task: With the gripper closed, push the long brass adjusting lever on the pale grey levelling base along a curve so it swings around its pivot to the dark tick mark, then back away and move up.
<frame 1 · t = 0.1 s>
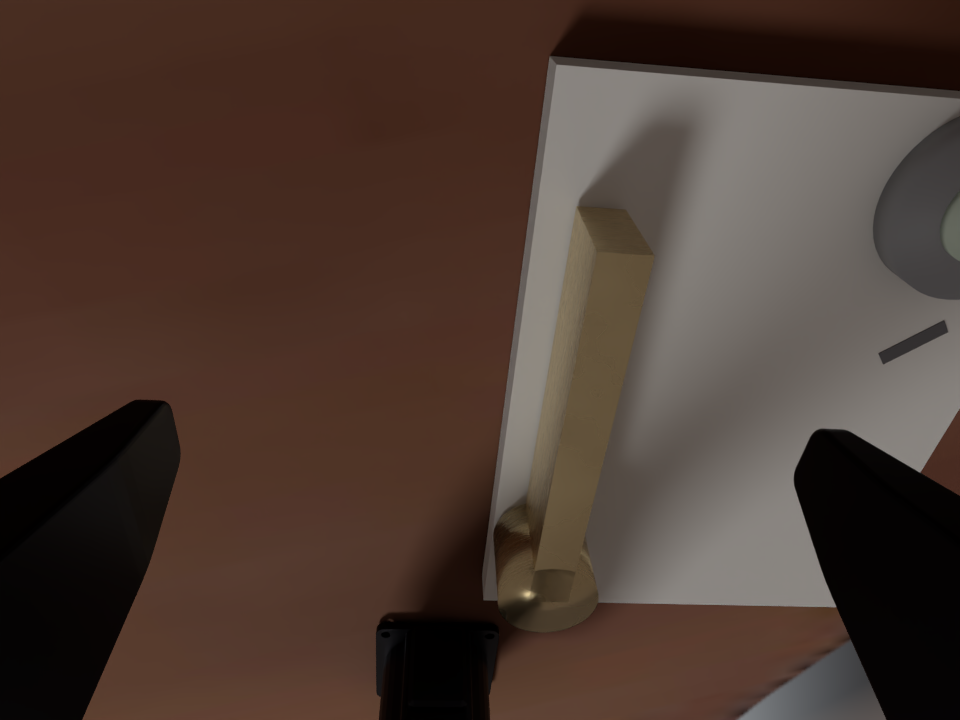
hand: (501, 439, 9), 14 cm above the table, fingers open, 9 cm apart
levelling base: (723, 390, 27), on the table
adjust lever: (567, 448, 24), point 3 cm above the table, hinge at 0.0°
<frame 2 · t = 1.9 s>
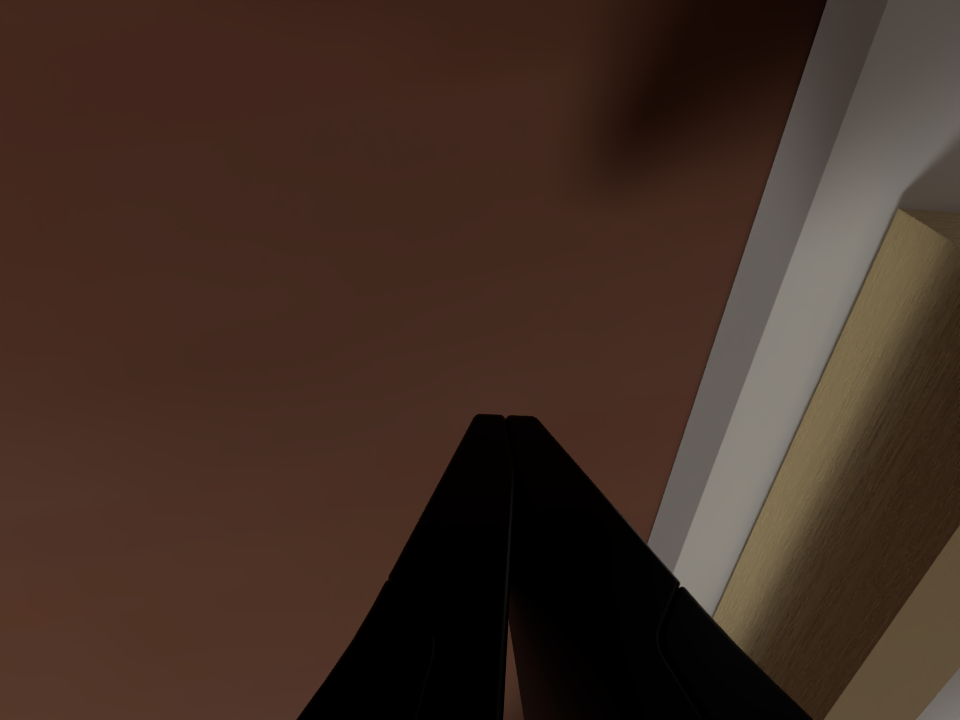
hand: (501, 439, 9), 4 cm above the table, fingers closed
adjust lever: (799, 658, 13), point 3 cm above the table, hinge at 0.0°
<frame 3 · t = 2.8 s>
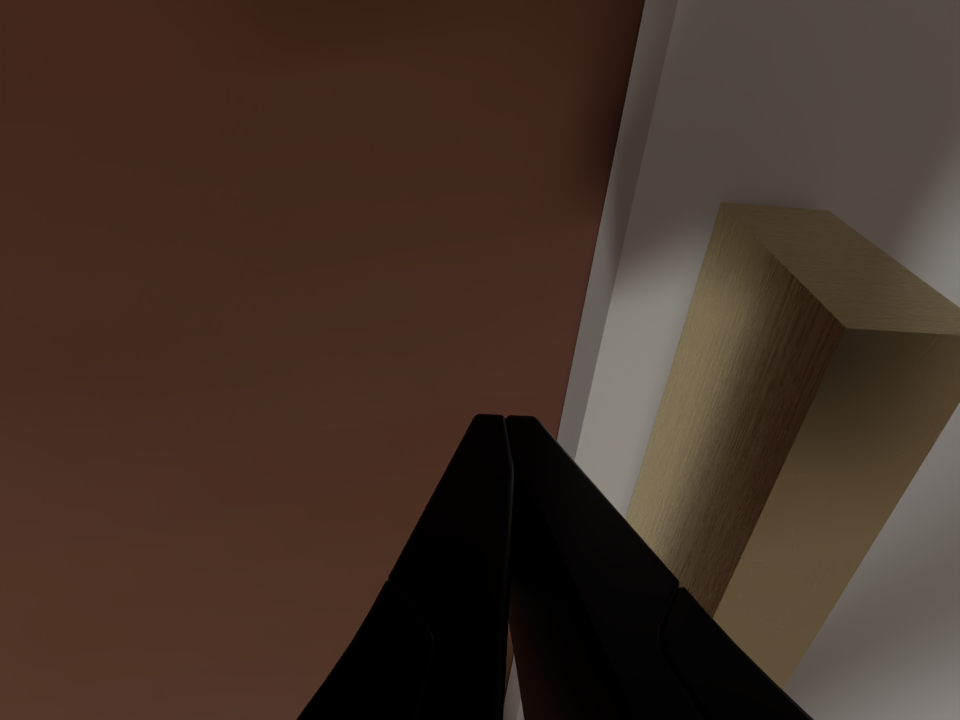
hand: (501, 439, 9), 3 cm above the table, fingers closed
levelling base: (912, 522, 16), on the table
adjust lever: (663, 665, 12), point 3 cm above the table, hinge at 0.0°
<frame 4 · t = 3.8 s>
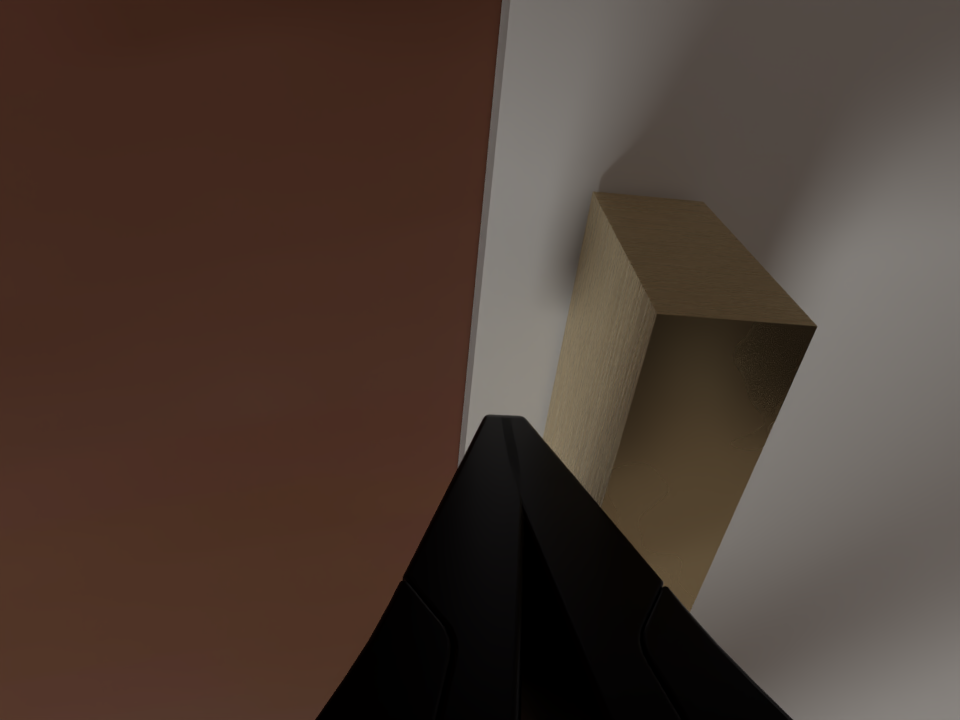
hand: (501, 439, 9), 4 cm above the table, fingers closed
levelling base: (832, 521, 15), on the table
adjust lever: (561, 663, 12), point 3 cm above the table, hinge at -0.8°, touching gripper
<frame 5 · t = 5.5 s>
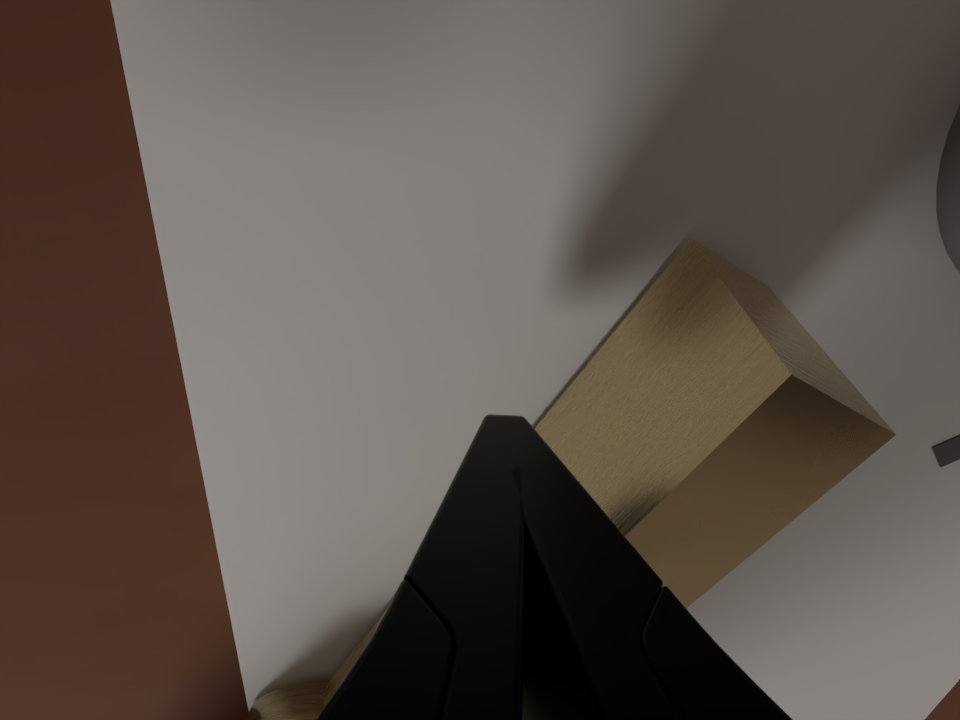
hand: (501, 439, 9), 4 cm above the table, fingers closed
levelling base: (639, 494, 15), on the table
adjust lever: (450, 660, 12), point 3 cm above the table, hinge at -25.7°, touching gripper
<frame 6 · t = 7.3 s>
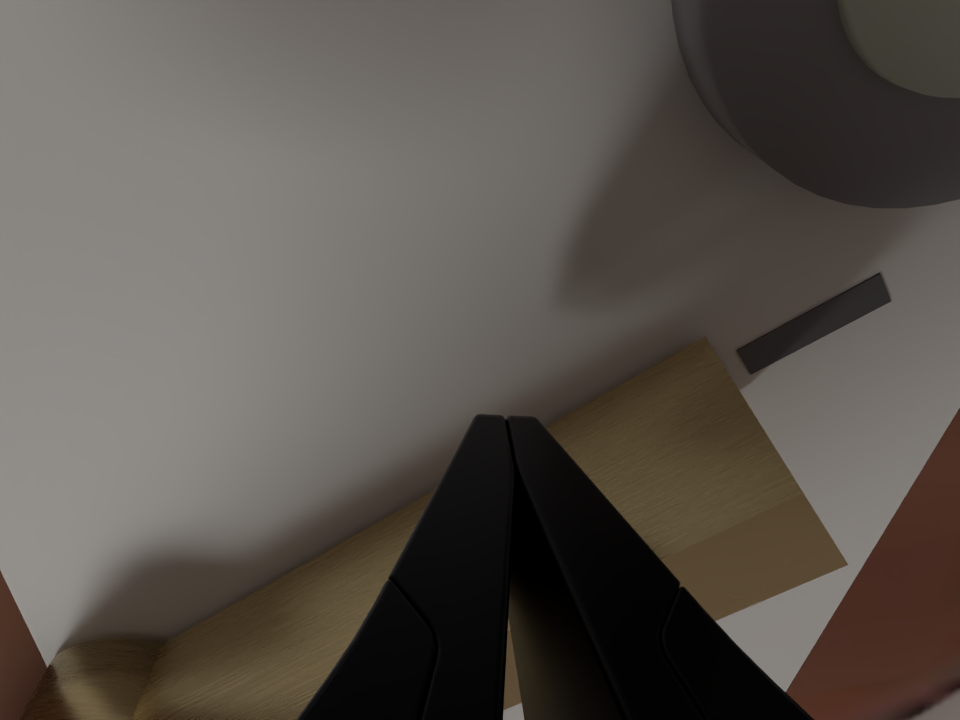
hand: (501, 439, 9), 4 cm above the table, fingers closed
levelling base: (453, 424, 13), on the table
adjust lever: (331, 656, 12), point 3 cm above the table, hinge at -49.2°
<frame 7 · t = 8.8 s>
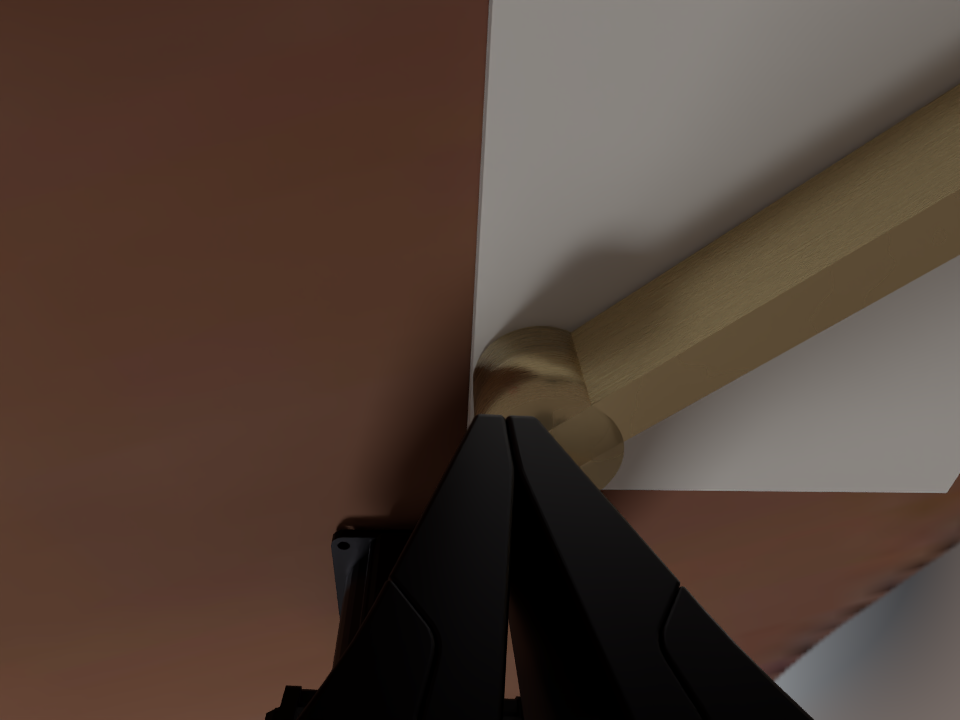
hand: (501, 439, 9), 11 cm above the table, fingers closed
levelling base: (802, 148, 18), on the table
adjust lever: (748, 292, 17), point 3 cm above the table, hinge at -49.3°
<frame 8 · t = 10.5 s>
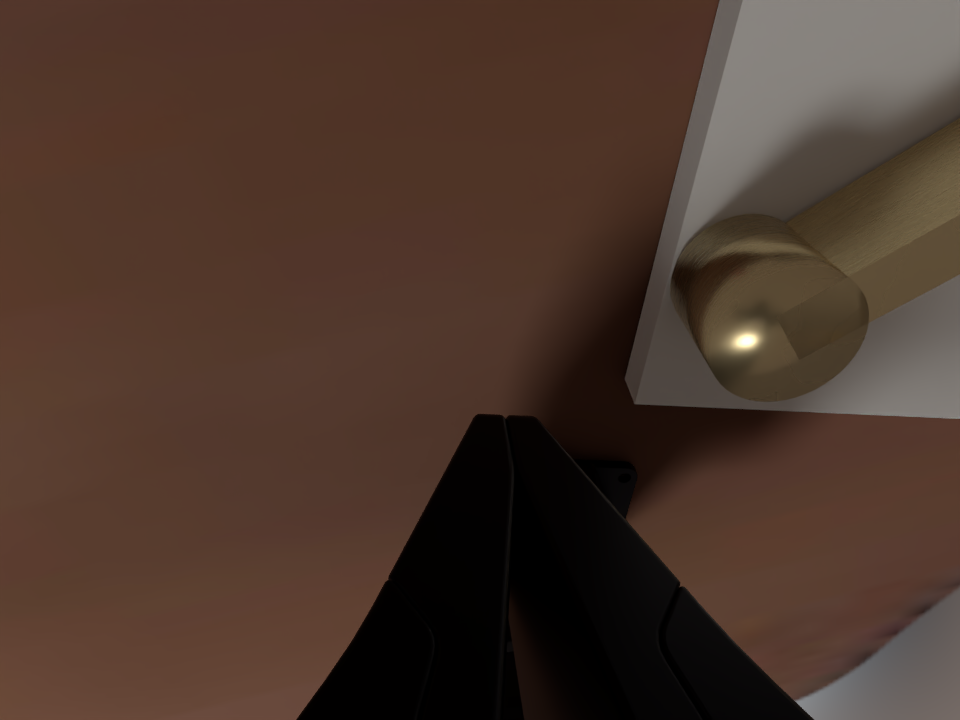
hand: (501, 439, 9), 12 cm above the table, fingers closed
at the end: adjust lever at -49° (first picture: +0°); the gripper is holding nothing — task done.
